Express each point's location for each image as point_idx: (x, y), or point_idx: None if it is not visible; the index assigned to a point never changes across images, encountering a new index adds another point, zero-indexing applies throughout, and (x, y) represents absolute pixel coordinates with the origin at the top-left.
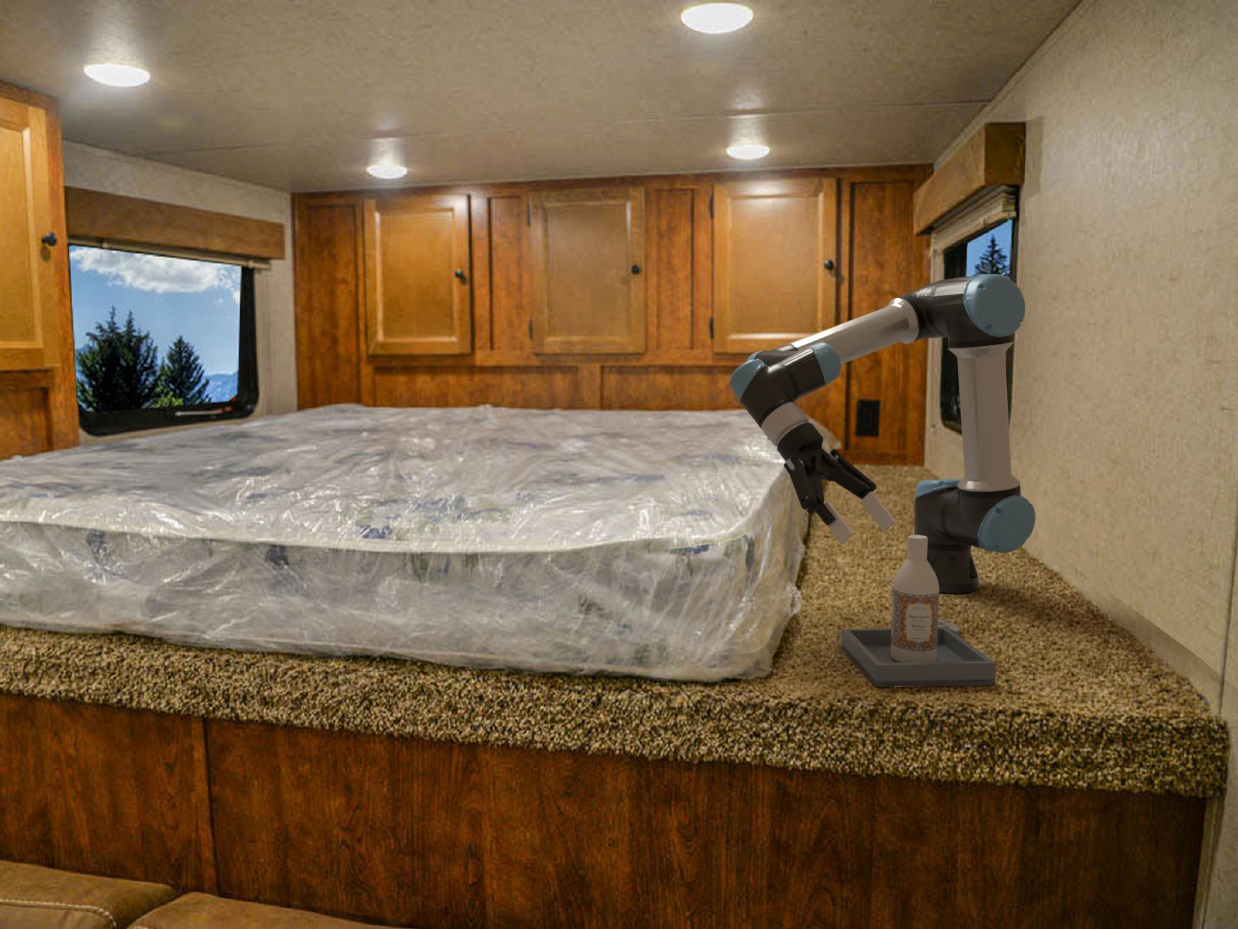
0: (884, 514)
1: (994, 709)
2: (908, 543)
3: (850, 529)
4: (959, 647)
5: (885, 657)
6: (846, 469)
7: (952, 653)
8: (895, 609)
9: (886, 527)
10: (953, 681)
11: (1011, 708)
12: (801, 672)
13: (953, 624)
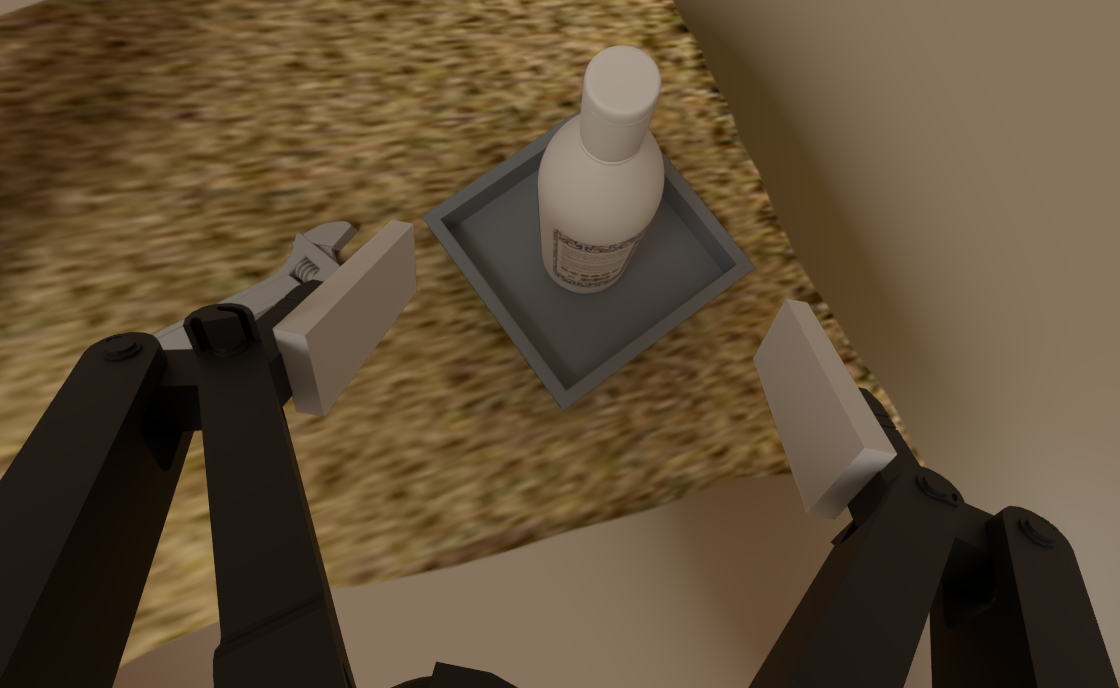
0: (389, 264)
1: (715, 98)
2: (641, 125)
3: (798, 311)
4: (513, 177)
5: (600, 303)
6: (63, 631)
7: (503, 200)
8: (635, 246)
9: (412, 271)
10: None
11: (695, 78)
12: (739, 426)
13: (300, 241)
